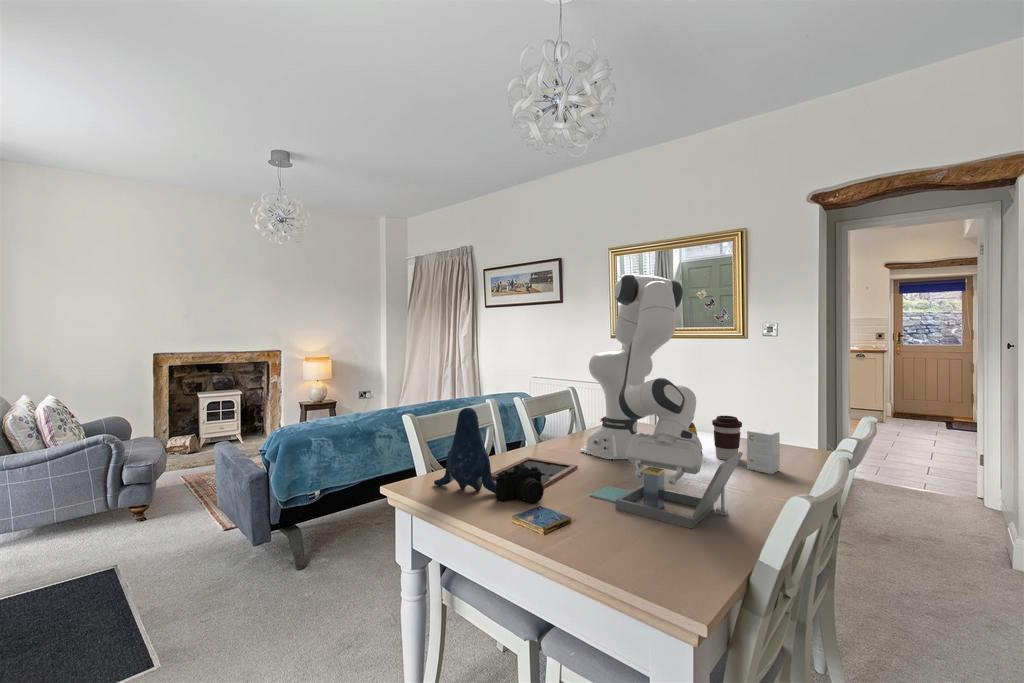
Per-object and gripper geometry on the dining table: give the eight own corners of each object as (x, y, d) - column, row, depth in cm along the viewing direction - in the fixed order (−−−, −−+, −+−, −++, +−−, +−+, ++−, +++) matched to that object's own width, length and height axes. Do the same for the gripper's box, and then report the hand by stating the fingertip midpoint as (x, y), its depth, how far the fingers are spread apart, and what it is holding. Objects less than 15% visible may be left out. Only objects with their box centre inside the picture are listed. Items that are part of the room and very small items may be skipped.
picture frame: (542, 491, 145) (577, 470, 166) (542, 484, 144) (577, 464, 166) (487, 480, 155) (527, 461, 176) (487, 474, 155) (527, 456, 176)
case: (615, 508, 129) (615, 447, 128) (642, 492, 141) (642, 436, 140) (722, 537, 111) (722, 466, 110) (742, 516, 123) (743, 452, 123)
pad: (589, 496, 139) (589, 494, 139) (607, 487, 146) (607, 485, 146) (621, 504, 132) (621, 502, 132) (638, 494, 140) (638, 493, 140)
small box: (779, 471, 161) (780, 431, 161) (771, 474, 157) (771, 434, 156) (754, 465, 167) (755, 428, 167) (746, 469, 163) (746, 430, 163)
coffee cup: (746, 461, 172) (747, 419, 172) (718, 461, 172) (718, 419, 172) (734, 454, 182) (734, 414, 182) (707, 454, 182) (707, 414, 182)
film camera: (508, 510, 129) (508, 476, 129) (492, 498, 137) (492, 467, 137) (556, 500, 136) (556, 468, 136) (538, 489, 145) (538, 459, 144)
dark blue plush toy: (422, 491, 143) (421, 408, 143) (442, 480, 154) (441, 402, 153) (499, 503, 133) (498, 413, 133) (515, 491, 144) (514, 407, 143)
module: (643, 506, 130) (643, 469, 130) (650, 502, 133) (650, 466, 133) (657, 510, 127) (657, 472, 127) (664, 506, 130) (664, 469, 130)
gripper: (631, 426, 142) (615, 466, 135) (702, 435, 129) (689, 481, 121) (638, 438, 145) (623, 479, 138) (708, 449, 132) (695, 494, 125)
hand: (654, 480), depth 130 cm, fingers open, 8 cm apart
